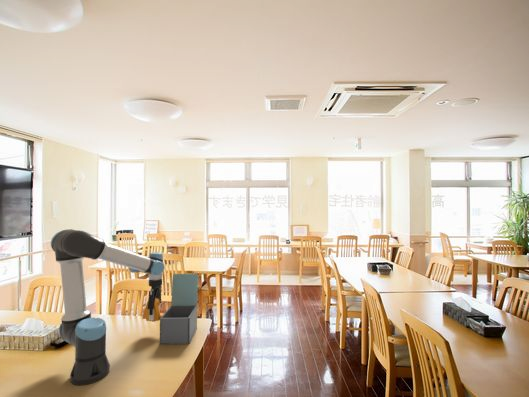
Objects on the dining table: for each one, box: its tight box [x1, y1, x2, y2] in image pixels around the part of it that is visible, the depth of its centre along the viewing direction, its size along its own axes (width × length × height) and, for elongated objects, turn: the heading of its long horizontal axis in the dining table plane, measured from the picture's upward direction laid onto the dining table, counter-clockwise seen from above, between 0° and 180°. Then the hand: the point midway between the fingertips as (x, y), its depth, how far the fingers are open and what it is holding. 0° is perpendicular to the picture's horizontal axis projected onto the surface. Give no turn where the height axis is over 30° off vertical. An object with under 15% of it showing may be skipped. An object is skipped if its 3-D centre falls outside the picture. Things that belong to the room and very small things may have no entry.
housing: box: [159, 304, 198, 346], centre depth 164 cm, size 20×16×14 cm
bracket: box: [142, 298, 165, 323], centre depth 167 cm, size 11×7×12 cm, turn 73°
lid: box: [170, 273, 199, 306], centre depth 176 cm, size 19×16×1 cm
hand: (154, 317), depth 167 cm, fingers closed on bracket, 9 cm apart
